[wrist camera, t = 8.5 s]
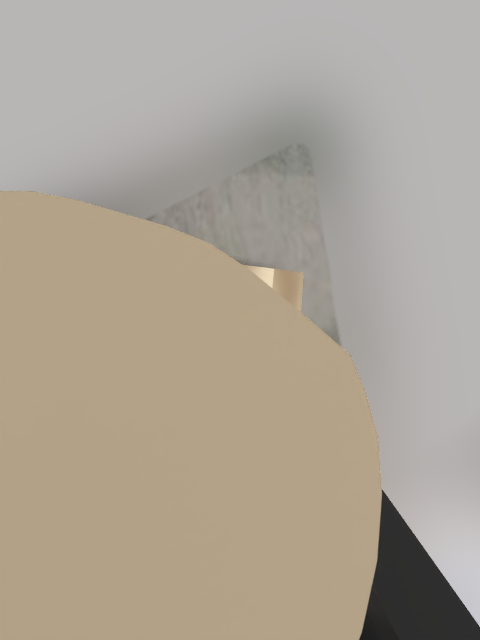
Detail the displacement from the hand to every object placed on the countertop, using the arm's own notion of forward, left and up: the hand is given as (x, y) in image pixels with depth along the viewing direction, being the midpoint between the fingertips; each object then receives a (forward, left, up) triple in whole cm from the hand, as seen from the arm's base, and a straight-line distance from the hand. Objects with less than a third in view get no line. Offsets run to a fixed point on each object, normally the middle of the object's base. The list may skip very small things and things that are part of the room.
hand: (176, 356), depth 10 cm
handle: (0, -2, -8) cm, 8 cm away
